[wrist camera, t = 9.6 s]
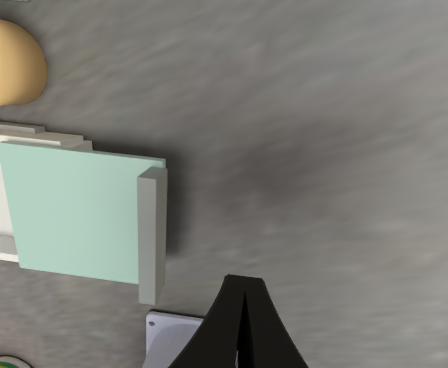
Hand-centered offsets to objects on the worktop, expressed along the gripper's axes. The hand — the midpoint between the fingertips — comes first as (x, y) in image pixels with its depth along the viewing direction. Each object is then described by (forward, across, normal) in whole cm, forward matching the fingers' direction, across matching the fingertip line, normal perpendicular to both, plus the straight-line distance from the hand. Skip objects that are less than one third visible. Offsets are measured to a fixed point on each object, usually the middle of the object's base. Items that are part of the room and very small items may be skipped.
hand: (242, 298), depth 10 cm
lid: (+7, +10, +1) cm, 12 cm away
